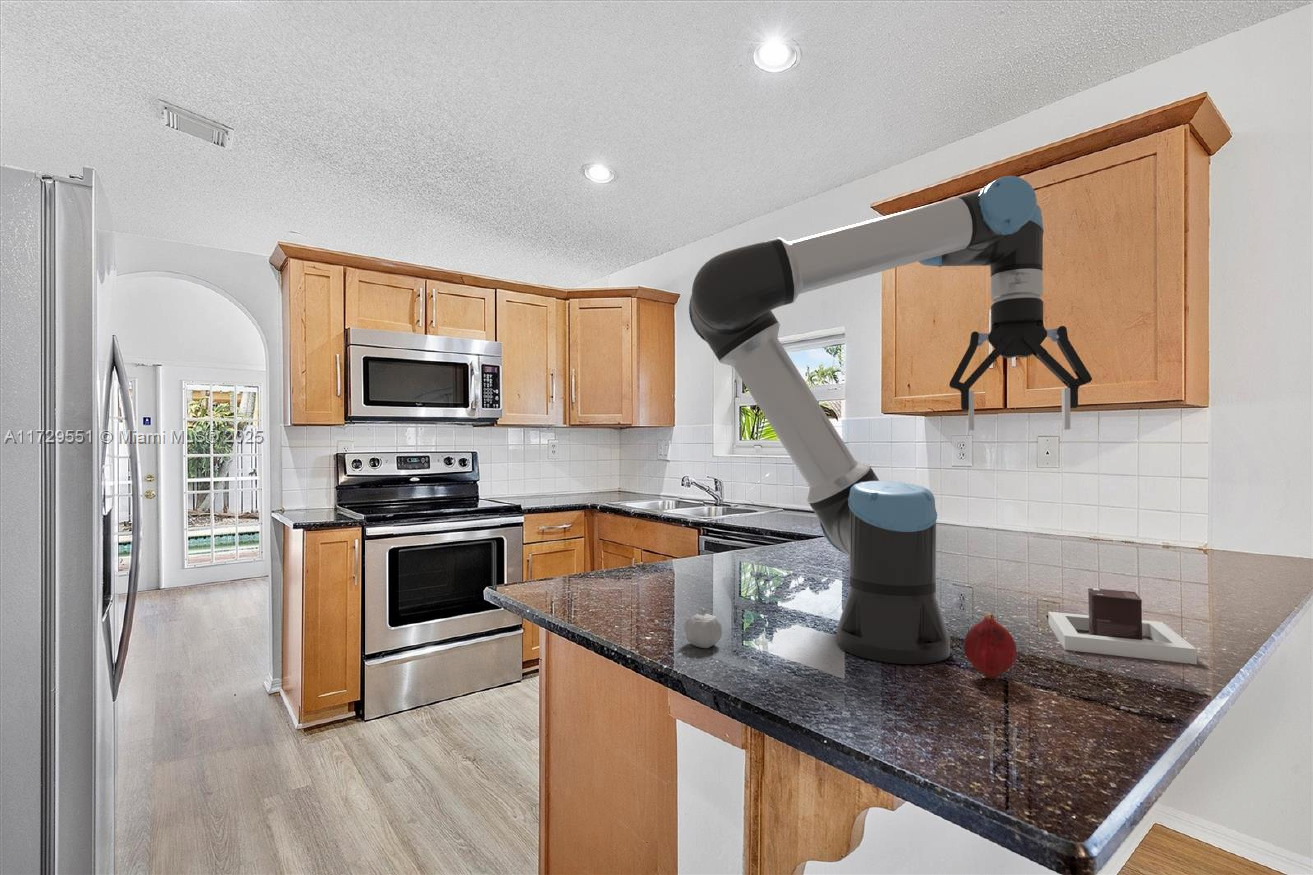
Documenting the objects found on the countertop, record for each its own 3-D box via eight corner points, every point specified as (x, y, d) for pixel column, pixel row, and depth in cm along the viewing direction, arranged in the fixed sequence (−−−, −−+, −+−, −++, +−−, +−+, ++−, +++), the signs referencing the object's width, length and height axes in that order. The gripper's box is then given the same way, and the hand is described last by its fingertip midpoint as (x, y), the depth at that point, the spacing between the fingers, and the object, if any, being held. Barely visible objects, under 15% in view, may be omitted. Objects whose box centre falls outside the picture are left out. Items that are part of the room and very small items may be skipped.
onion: (1024, 688, 76) (1023, 621, 76) (971, 685, 77) (971, 618, 77) (1007, 672, 82) (1007, 609, 82) (959, 669, 83) (958, 607, 83)
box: (1143, 651, 91) (1142, 599, 91) (1092, 645, 94) (1091, 594, 94) (1136, 640, 96) (1136, 591, 96) (1088, 634, 99) (1087, 587, 99)
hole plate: (1064, 649, 91) (1064, 635, 91) (1048, 623, 105) (1048, 611, 105) (1197, 664, 85) (1196, 649, 85) (1161, 634, 99) (1161, 621, 99)
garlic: (687, 638, 96) (688, 603, 96) (724, 640, 95) (724, 605, 95) (681, 650, 90) (681, 613, 90) (719, 653, 89) (719, 615, 89)
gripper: (933, 302, 107) (934, 429, 107) (1113, 288, 97) (1114, 428, 97) (934, 311, 114) (934, 431, 114) (1101, 298, 104) (1103, 429, 104)
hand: (1017, 430), depth 105 cm, fingers open, 13 cm apart
